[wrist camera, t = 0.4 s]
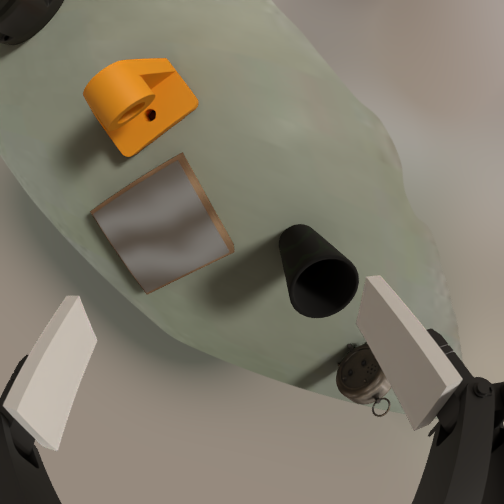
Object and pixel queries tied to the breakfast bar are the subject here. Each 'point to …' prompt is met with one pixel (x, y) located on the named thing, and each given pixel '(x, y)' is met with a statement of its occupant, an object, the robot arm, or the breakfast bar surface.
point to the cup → (316, 273)
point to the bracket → (138, 101)
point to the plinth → (163, 225)
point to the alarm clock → (362, 377)
